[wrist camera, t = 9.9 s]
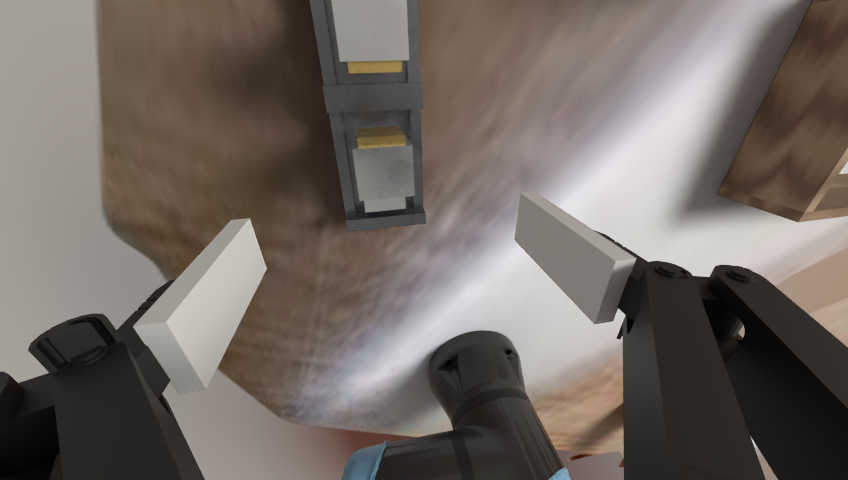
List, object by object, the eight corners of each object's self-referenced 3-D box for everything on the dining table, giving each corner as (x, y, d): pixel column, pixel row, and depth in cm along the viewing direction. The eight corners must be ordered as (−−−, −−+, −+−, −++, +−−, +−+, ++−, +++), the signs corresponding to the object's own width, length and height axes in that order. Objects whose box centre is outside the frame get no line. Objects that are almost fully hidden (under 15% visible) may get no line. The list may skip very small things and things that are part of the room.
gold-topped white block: (403, 201, 31) (417, 242, 24) (365, 204, 31) (366, 248, 23) (397, 118, 27) (412, 136, 20) (353, 120, 27) (350, 139, 19)
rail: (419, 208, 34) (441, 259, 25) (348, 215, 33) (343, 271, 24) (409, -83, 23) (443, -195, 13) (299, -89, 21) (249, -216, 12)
